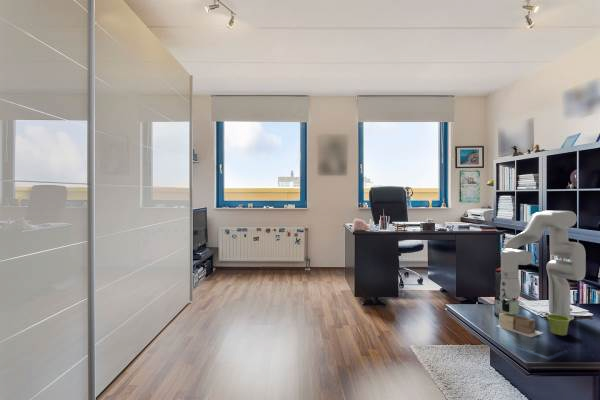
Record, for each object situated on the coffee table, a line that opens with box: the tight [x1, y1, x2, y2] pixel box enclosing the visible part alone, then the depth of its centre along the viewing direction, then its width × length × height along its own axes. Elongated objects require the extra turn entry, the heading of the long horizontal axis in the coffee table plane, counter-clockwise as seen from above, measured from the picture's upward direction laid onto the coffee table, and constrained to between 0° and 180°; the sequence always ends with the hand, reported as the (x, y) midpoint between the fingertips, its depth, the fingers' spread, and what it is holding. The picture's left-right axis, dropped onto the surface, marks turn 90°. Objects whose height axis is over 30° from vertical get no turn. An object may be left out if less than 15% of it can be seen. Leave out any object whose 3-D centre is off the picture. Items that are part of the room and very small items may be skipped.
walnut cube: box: [515, 315, 536, 334], centre depth 170 cm, size 6×6×6 cm
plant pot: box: [545, 314, 572, 336], centre depth 168 cm, size 9×9×9 cm
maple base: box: [498, 312, 522, 330], centre depth 177 cm, size 7×7×6 cm
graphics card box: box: [493, 266, 507, 318], centre depth 197 cm, size 17×7×27 cm, turn 136°
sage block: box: [500, 299, 520, 314], centre depth 177 cm, size 6×6×6 cm
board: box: [496, 324, 544, 338], centre depth 173 cm, size 11×17×1 cm, turn 28°
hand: (509, 310), depth 177 cm, fingers closed on sage block, 6 cm apart
